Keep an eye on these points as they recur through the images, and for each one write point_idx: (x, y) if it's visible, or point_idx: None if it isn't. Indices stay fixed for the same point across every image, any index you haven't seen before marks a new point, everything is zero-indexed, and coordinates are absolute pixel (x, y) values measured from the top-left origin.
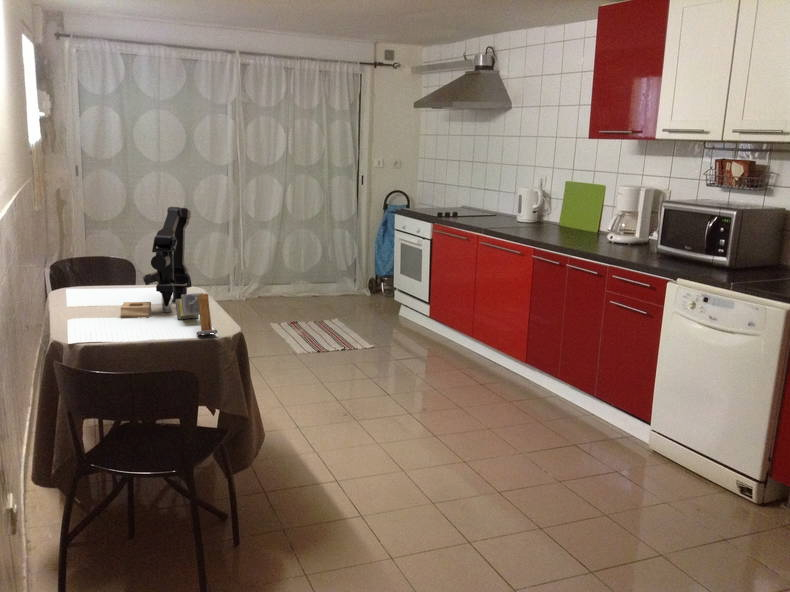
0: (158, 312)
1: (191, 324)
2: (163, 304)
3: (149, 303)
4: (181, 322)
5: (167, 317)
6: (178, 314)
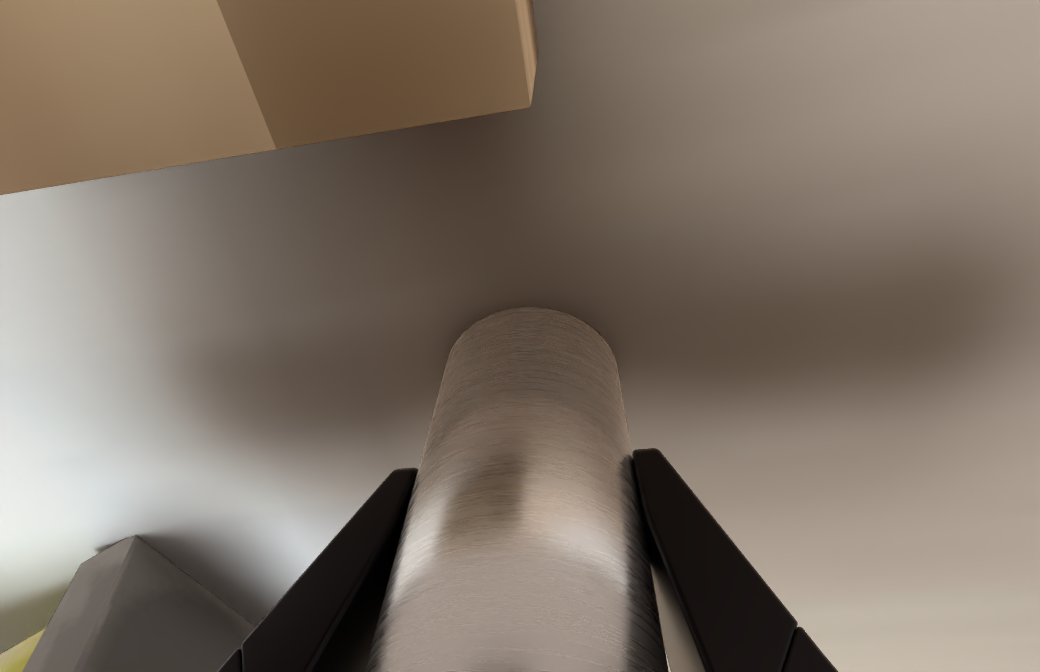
0: (497, 232)
1: (10, 643)
2: (424, 456)
3: (230, 123)
4: (24, 579)
5: (175, 430)
6: (61, 619)
